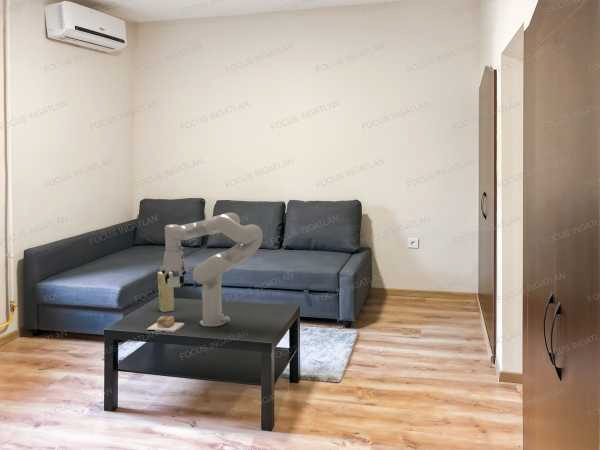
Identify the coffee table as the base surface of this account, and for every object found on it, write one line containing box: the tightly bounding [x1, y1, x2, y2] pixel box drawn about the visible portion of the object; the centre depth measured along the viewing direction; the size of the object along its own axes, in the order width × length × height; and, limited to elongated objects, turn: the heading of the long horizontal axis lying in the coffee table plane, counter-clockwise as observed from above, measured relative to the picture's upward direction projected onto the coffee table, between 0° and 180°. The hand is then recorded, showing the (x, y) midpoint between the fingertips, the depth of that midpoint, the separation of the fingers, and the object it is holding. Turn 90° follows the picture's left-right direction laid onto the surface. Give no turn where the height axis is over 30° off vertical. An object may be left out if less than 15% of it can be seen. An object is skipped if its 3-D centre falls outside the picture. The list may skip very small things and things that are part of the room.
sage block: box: [167, 276, 183, 288], centre depth 286 cm, size 6×6×4 cm
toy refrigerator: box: [157, 271, 175, 313], centre depth 307 cm, size 8×7×21 cm
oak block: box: [156, 315, 175, 328], centre depth 275 cm, size 6×6×4 cm
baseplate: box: [146, 322, 185, 333], centre depth 275 cm, size 14×12×1 cm
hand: (174, 283), depth 287 cm, fingers closed on sage block, 6 cm apart
